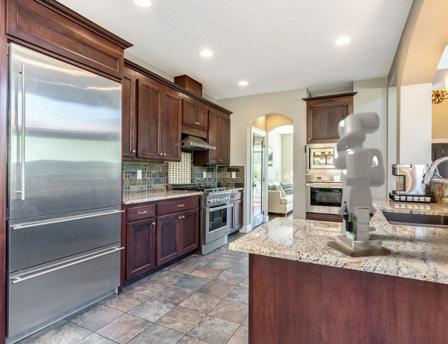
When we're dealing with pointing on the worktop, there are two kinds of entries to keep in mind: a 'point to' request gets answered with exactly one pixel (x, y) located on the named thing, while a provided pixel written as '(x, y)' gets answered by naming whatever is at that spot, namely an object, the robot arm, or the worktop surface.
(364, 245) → the collar board
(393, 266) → the worktop surface
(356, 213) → the syrup box
